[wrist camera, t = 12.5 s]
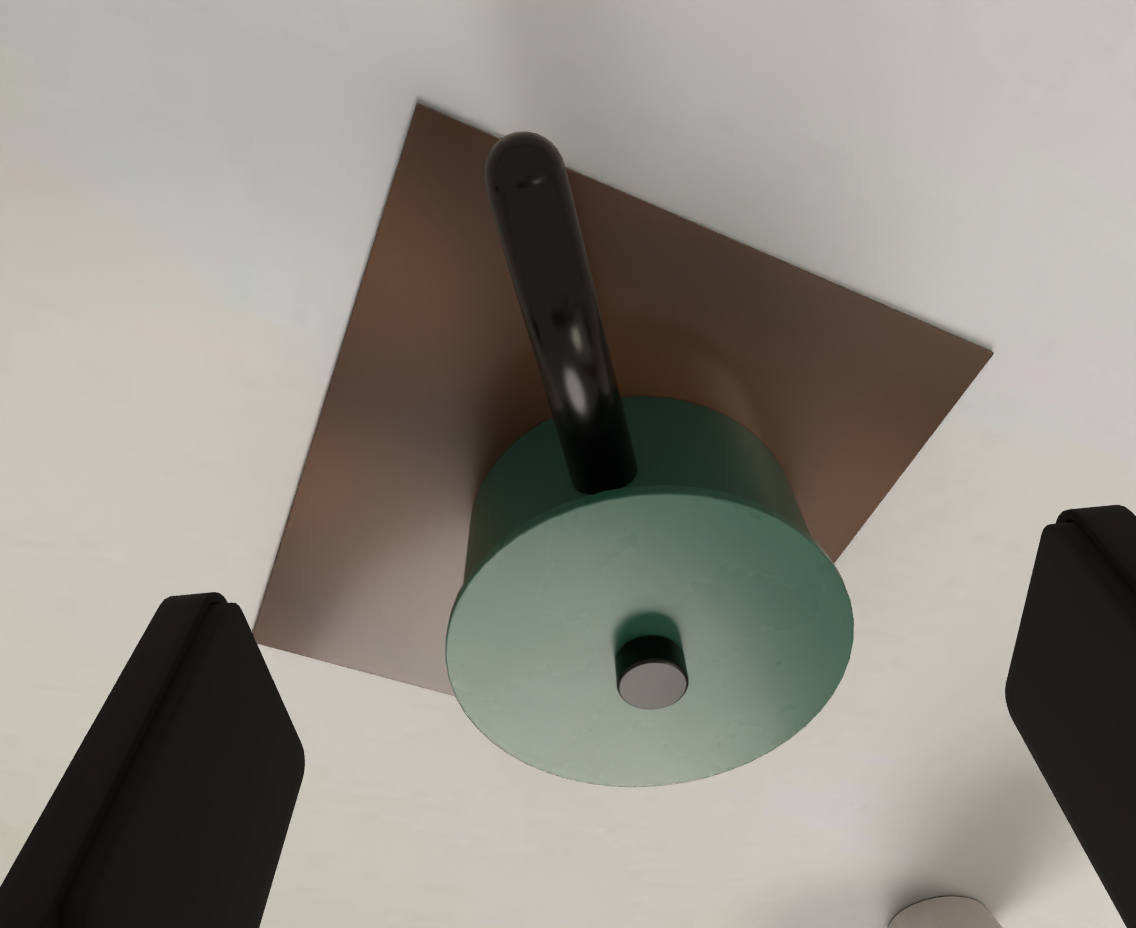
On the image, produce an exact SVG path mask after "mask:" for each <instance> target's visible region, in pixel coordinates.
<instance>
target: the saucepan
mask: <svg viewBox="0 0 1136 928" xmlns="http://www.w3.org/2000/svg"><path fill="white" fill-rule="evenodd" d="M483 181H484V186H485V191H486V194H487V197H488V201H489V204H490V207H491V211H492V214H493V218H494V221H495V224H496V228H497V231H498V235H499V238H500V241H501V245H502V248H503V251H504V255H505V258H506V262H507V265H508V268H509V272H510V275H511V279H512V282H513V285H514V289H515V292H516V295H517V299H518V302H519V306H520V309H521V312H522V316H523V319H524V322H525V326H526V329H527V333H528V336H529V339H530V343H531V346H532V350H533V353H534V356H535V360H536V363H537V366H538V370H539V373H540V377H541V380H542V383H543V387H544V390H545V394H546V397H547V400H548V404H549V407H550V410H551V414H552V417H551V418H550V419H548V420H546V421H544V422H543V423H541V424H539V425H537V426H536V427H534V428H533V429H531V430H530V431H529V432H527V433H526V434H524V435H523V436H522V437H520V438H519V439H518V440H516V441H515V442H514V443H513V444H512V445H511V446H510V447H509V448H508V449H507V450H506V451H505V452H504V453H503V454H502V455H501V456H500V458H499V459H498V460H497V462H496V463H495V464H494V465H493V467H492V468H491V469H490V471H489V472H488V474H487V476H486V478H485V479H484V481H483V483H482V485H481V487H480V489H479V491H478V494H477V497H476V499H475V502H474V505H473V510H472V515H471V520H470V528H469V536H468V545H467V554H466V562H465V571H464V579H463V585H462V587H461V589H460V590H459V592H458V594H457V597H456V599H455V602H454V604H453V607H452V610H451V612H450V617H449V622H448V627H447V633H446V644H445V660H446V666H447V672H448V677H449V680H450V683H451V686H452V689H453V691H454V694H455V697H456V698H457V700H458V702H459V704H460V705H461V707H462V709H463V711H464V712H465V714H466V715H467V716H468V717H469V719H470V720H471V721H472V722H473V724H474V725H475V726H476V727H477V729H479V730H480V731H481V732H482V733H483V734H484V735H485V736H486V737H487V738H488V739H489V740H490V741H491V742H493V743H494V744H495V745H497V746H498V747H500V748H501V749H502V750H504V751H505V752H506V753H508V754H510V755H511V756H513V757H515V758H517V759H519V760H520V761H522V762H524V763H526V764H528V765H530V766H533V767H535V768H537V769H540V770H542V771H545V772H547V773H550V774H554V775H557V776H560V777H563V778H566V779H571V780H575V781H580V782H585V783H590V784H598V785H606V786H620V787H647V786H662V785H670V784H677V783H684V782H689V781H693V780H698V779H702V778H707V777H710V776H713V775H717V774H720V773H723V772H726V771H729V770H732V769H734V768H737V767H739V766H742V765H744V764H746V763H749V762H751V761H753V760H755V759H757V758H759V757H761V756H763V755H765V754H767V753H768V752H770V751H772V750H773V749H775V748H776V747H778V746H780V745H781V744H783V743H784V742H786V741H787V740H789V739H790V738H791V737H793V736H794V735H795V734H796V733H797V732H799V731H800V730H801V729H802V728H804V727H805V726H806V725H807V724H808V723H809V722H810V721H811V720H812V719H813V718H814V717H815V716H816V715H817V714H818V713H819V712H820V711H821V709H822V708H823V707H824V705H825V704H826V703H827V702H828V700H829V699H830V698H831V696H832V695H833V693H834V692H835V690H836V688H837V686H838V684H839V683H840V681H841V679H842V677H843V675H844V672H845V670H846V667H847V664H848V662H849V659H850V654H851V649H852V644H853V631H854V618H853V613H852V607H851V602H850V598H849V595H848V593H847V590H846V588H845V585H844V582H843V580H842V578H841V575H840V573H839V572H838V570H837V568H836V567H835V565H834V563H833V562H832V560H831V558H830V557H829V555H828V554H827V553H826V552H825V551H824V549H823V548H822V547H821V546H820V545H819V544H818V543H817V541H816V540H815V539H814V538H813V537H812V536H811V534H810V532H809V529H808V527H807V525H806V522H805V520H804V518H803V515H802V513H801V511H800V508H799V506H798V504H797V501H796V499H795V497H794V494H793V492H792V490H791V487H790V485H789V482H788V480H787V478H786V475H785V473H784V471H783V469H782V468H781V466H780V465H779V463H778V461H777V460H776V458H775V456H774V455H773V454H772V453H771V452H770V450H769V449H768V448H767V447H766V446H765V444H764V443H763V442H762V441H761V440H760V439H758V438H757V437H756V436H755V435H754V434H753V433H751V432H750V431H749V430H748V429H747V428H745V427H744V426H742V425H740V424H739V423H737V422H736V421H734V420H733V419H731V418H729V417H727V416H725V415H723V414H721V413H719V412H716V411H714V410H712V409H710V408H707V407H704V406H700V405H697V404H694V403H691V402H687V401H681V400H676V399H671V398H663V397H648V396H638V397H621V396H620V392H619V388H618V383H617V379H616V375H615V371H614V367H613V363H612V359H611V354H610V350H609V346H608V342H607V338H606V334H605V330H604V325H603V321H602V317H601V313H600V309H599V305H598V300H597V296H596V292H595V288H594V284H593V280H592V276H591V271H590V267H589V263H588V259H587V255H586V251H585V246H584V242H583V238H582V234H581V230H580V226H579V222H578V217H577V213H576V209H575V205H574V201H573V197H572V193H571V188H570V184H569V180H568V176H567V172H566V168H565V164H564V161H563V158H562V156H561V154H560V153H559V151H558V149H557V148H556V147H555V146H554V145H553V143H552V142H550V141H549V140H548V139H546V138H545V137H543V136H541V135H539V134H537V133H532V132H515V133H511V134H509V135H507V136H505V137H503V138H501V139H500V140H499V141H498V142H497V143H496V144H495V145H494V146H493V147H492V148H491V150H490V151H489V153H488V155H487V157H486V160H485V163H484V168H483Z"/></svg>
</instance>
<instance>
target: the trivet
mask: <svg viewBox="0 0 1136 928" xmlns="http://www.w3.org/2000/svg"><path fill="white" fill-rule="evenodd" d="M499 140H500V139H499V138H497V137H495V136H493V135H490V134H488V133H486V132H483V131H481V130H479V129H476V128H474V127H472V126H469V125H467V124H465V123H462V122H460V121H458V120H455V119H453V118H451V117H449V116H446V115H444V114H442V113H439V112H437V111H435V110H432V109H430V108H428V107H425V106H423V105H421V104H417V105H416V108H415V112H414V115H413V118H412V121H411V124H410V128H409V131H408V134H407V137H406V141H405V144H404V147H403V150H402V154H401V157H400V160H399V163H398V166H397V170H396V173H395V176H394V179H393V183H392V186H391V189H390V192H389V195H388V199H387V202H386V205H385V208H384V212H383V215H382V218H381V221H380V225H379V228H378V231H377V234H376V237H375V241H374V244H373V247H372V250H371V254H370V257H369V260H368V263H367V266H366V270H365V273H364V276H363V279H362V283H361V286H360V289H359V292H358V296H357V299H356V302H355V305H354V308H353V312H352V315H351V318H350V321H349V325H348V328H347V331H346V334H345V337H344V341H343V344H342V347H341V350H340V354H339V357H338V360H337V363H336V367H335V370H334V373H333V376H332V379H331V383H330V386H329V389H328V392H327V396H326V399H325V402H324V405H323V408H322V412H321V415H320V418H319V421H318V425H317V428H316V431H315V434H314V438H313V441H312V444H311V447H310V450H309V454H308V457H307V460H306V463H305V467H304V470H303V473H302V476H301V479H300V483H299V486H298V489H297V492H296V496H295V499H294V502H293V505H292V509H291V512H290V515H289V518H288V521H287V525H286V528H285V531H284V534H283V538H282V541H281V544H280V547H279V550H278V554H277V557H276V560H275V563H274V567H273V570H272V573H271V576H270V580H269V583H268V586H267V589H266V592H265V596H264V599H263V602H262V605H261V609H260V612H259V615H258V618H257V621H256V625H255V628H254V631H253V636H254V638H255V641H256V643H257V644H261V645H265V646H268V647H272V648H276V649H280V650H284V651H287V652H291V653H295V654H299V655H302V656H306V657H310V658H314V659H317V660H321V661H325V662H329V663H333V664H336V665H340V666H344V667H348V668H351V669H355V670H359V671H363V672H366V673H370V674H374V675H378V676H382V677H385V678H389V679H393V680H397V681H400V682H404V683H408V684H412V685H415V686H419V687H423V688H427V689H431V690H434V691H438V692H442V693H446V694H449V695H453V696H455V694H454V691H453V689H452V686H451V683H450V680H449V677H448V672H447V666H446V660H445V644H446V633H447V627H448V622H449V617H450V612H451V610H452V607H453V604H454V602H455V599H456V597H457V594H458V592H459V590H460V589H461V587H462V585H463V579H464V571H465V562H466V554H467V545H468V536H469V528H470V520H471V515H472V510H473V505H474V502H475V499H476V497H477V494H478V491H479V489H480V487H481V485H482V483H483V481H484V479H485V478H486V476H487V474H488V472H489V471H490V469H491V468H492V467H493V465H494V464H495V463H496V462H497V460H498V459H499V458H500V456H501V455H502V454H503V453H504V452H505V451H506V450H507V449H508V448H509V447H510V446H511V445H512V444H513V443H514V442H515V441H516V440H518V439H519V438H520V437H522V436H523V435H524V434H526V433H527V432H529V431H530V430H531V429H533V428H534V427H536V426H537V425H539V424H541V423H543V422H544V421H546V420H548V419H550V418H551V417H552V414H551V410H550V407H549V404H548V400H547V397H546V394H545V390H544V387H543V383H542V380H541V377H540V373H539V370H538V366H537V363H536V360H535V356H534V353H533V350H532V346H531V343H530V339H529V336H528V333H527V329H526V326H525V322H524V319H523V316H522V312H521V309H520V306H519V302H518V299H517V295H516V292H515V289H514V285H513V282H512V279H511V275H510V272H509V268H508V265H507V262H506V258H505V255H504V251H503V248H502V245H501V241H500V238H499V235H498V231H497V228H496V224H495V221H494V218H493V214H492V211H491V207H490V204H489V201H488V197H487V194H486V191H485V186H484V181H483V168H484V163H485V160H486V157H487V155H488V153H489V151H490V150H491V148H492V147H493V146H494V145H495V144H496V143H497V142H498V141H499ZM565 168H566V172H567V176H568V180H569V184H570V188H571V193H572V197H573V201H574V205H575V209H576V213H577V217H578V222H579V226H580V230H581V234H582V238H583V242H584V246H585V251H586V255H587V259H588V263H589V267H590V271H591V276H592V280H593V284H594V288H595V292H596V296H597V300H598V305H599V309H600V313H601V317H602V321H603V325H604V330H605V334H606V338H607V342H608V346H609V350H610V354H611V359H612V363H613V367H614V371H615V375H616V379H617V383H618V388H619V392H620V396H621V397H638V396H648V397H663V398H671V399H676V400H681V401H687V402H691V403H694V404H697V405H700V406H704V407H707V408H710V409H712V410H714V411H716V412H719V413H721V414H723V415H725V416H727V417H729V418H731V419H733V420H734V421H736V422H737V423H739V424H740V425H742V426H744V427H745V428H747V429H748V430H749V431H750V432H751V433H753V434H754V435H755V436H756V437H757V438H758V439H760V440H761V441H762V442H763V443H764V444H765V446H766V447H767V448H768V449H769V450H770V452H771V453H772V454H773V455H774V456H775V458H776V460H777V461H778V463H779V465H780V466H781V468H782V469H783V471H784V473H785V475H786V478H787V480H788V482H789V485H790V487H791V490H792V492H793V494H794V497H795V499H796V501H797V504H798V506H799V508H800V511H801V513H802V515H803V518H804V520H805V522H806V525H807V527H808V529H809V532H810V534H811V536H812V537H813V538H814V539H815V540H816V541H817V543H818V544H819V545H820V546H821V547H822V548H823V549H824V551H825V552H826V553H827V554H828V555H829V557H830V558H831V560H832V562H833V563H835V561H836V560H837V559H838V558H839V556H840V555H841V554H842V552H843V551H844V550H845V548H846V547H847V546H848V544H849V543H850V542H851V540H852V539H853V538H854V537H855V535H856V534H857V533H858V531H859V530H860V529H861V527H862V526H863V525H864V523H865V522H866V521H867V519H868V518H869V517H870V515H871V514H872V513H873V512H874V510H875V509H876V508H877V506H878V505H879V504H880V502H881V501H882V500H883V498H884V497H885V496H886V494H887V493H888V492H889V491H890V489H891V488H892V487H893V485H894V484H895V483H896V481H897V480H898V479H899V477H900V476H901V475H902V473H903V472H904V471H905V470H906V468H907V467H908V466H909V464H910V463H911V462H912V460H913V459H914V458H915V456H916V455H917V454H918V452H919V451H920V450H921V448H922V447H923V446H924V445H925V443H926V442H927V441H928V439H929V438H930V437H931V435H932V434H933V433H934V431H935V430H936V429H937V427H938V426H939V425H940V424H941V422H942V421H943V420H944V418H945V417H946V416H947V414H948V413H949V412H950V410H951V409H952V408H953V406H954V405H955V404H956V403H957V401H958V400H959V399H960V397H961V396H962V395H963V393H964V392H965V391H966V389H967V388H968V387H969V385H970V384H971V383H972V381H973V380H974V379H975V378H976V376H977V375H978V374H979V372H980V371H981V370H982V368H983V367H984V366H985V364H986V363H987V362H988V360H989V359H990V358H991V357H992V355H993V354H994V353H993V352H992V351H991V350H988V349H986V348H984V347H981V346H979V345H977V344H974V343H972V342H970V341H967V340H965V339H963V338H960V337H958V336H956V335H954V334H951V333H949V332H947V331H944V330H942V329H940V328H937V327H935V326H933V325H930V324H928V323H926V322H923V321H921V320H919V319H916V318H914V317H912V316H909V315H907V314H905V313H903V312H900V311H898V310H896V309H893V308H891V307H889V306H886V305H884V304H882V303H879V302H877V301H875V300H872V299H870V298H868V297H865V296H863V295H861V294H859V293H856V292H854V291H852V290H849V289H847V288H845V287H842V286H840V285H838V284H835V283H833V282H831V281H828V280H826V279H824V278H821V277H819V276H817V275H815V274H812V273H810V272H808V271H805V270H803V269H801V268H798V267H796V266H794V265H791V264H789V263H787V262H784V261H782V260H780V259H777V258H775V257H773V256H771V255H768V254H766V253H764V252H761V251H759V250H757V249H754V248H752V247H750V246H747V245H745V244H743V243H740V242H738V241H736V240H733V239H731V238H729V237H727V236H724V235H722V234H720V233H717V232H715V231H713V230H710V229H708V228H706V227H703V226H701V225H699V224H696V223H694V222H692V221H689V220H687V219H685V218H682V217H680V216H678V215H676V214H673V213H671V212H669V211H666V210H664V209H662V208H659V207H657V206H655V205H652V204H650V203H648V202H645V201H643V200H641V199H638V198H636V197H634V196H632V195H629V194H627V193H625V192H622V191H620V190H618V189H615V188H613V187H611V186H608V185H606V184H604V183H601V182H599V181H597V180H594V179H592V178H590V177H588V176H585V175H583V174H581V173H578V172H576V171H574V170H571V169H569V168H567V167H565Z"/></svg>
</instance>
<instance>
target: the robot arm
mask: <svg viewBox="0 0 1136 928" xmlns="http://www.w3.org/2000/svg"><path fill="white" fill-rule="evenodd" d="M1005 698H1006V703H1007V707H1008V710H1009V713H1010V716H1011V718H1012V720H1013V722H1014V724H1015V725H1016V727H1017V729H1018V731H1019V733H1020V734H1021V736H1022V738H1023V740H1024V742H1025V743H1026V745H1027V747H1028V749H1029V751H1030V753H1031V754H1032V756H1033V758H1034V760H1035V762H1036V763H1037V765H1038V767H1039V769H1040V771H1041V773H1042V774H1043V776H1044V778H1045V780H1046V782H1047V783H1048V785H1049V787H1050V789H1051V791H1052V793H1053V794H1054V796H1055V798H1056V800H1057V802H1058V803H1059V805H1060V807H1061V809H1062V811H1063V813H1064V814H1065V816H1066V818H1067V820H1068V822H1069V823H1070V825H1071V827H1072V829H1073V831H1074V833H1075V834H1076V836H1077V838H1078V840H1079V842H1080V843H1081V845H1082V847H1083V849H1084V851H1085V853H1086V854H1087V856H1088V858H1089V860H1090V862H1091V863H1092V865H1093V867H1094V869H1095V871H1096V873H1097V874H1098V876H1099V878H1100V880H1101V882H1102V883H1103V885H1104V887H1105V889H1106V891H1107V893H1108V894H1109V896H1110V898H1111V900H1112V902H1113V903H1114V905H1115V907H1116V909H1117V911H1118V912H1119V914H1120V916H1121V918H1122V920H1123V922H1124V923H1125V925H1126V927H1127V928H1136V516H1135V515H1134V514H1133V513H1132V512H1131V511H1130V510H1128V509H1127V508H1126V507H1124V506H1120V505H1110V506H1100V507H1090V508H1079V509H1069V510H1065V511H1063V512H1062V513H1061V514H1060V515H1059V516H1058V519H1057V521H1056V524H1050V525H1047V526H1046V527H1045V528H1044V529H1043V532H1042V535H1041V539H1040V543H1039V547H1038V551H1037V555H1036V560H1035V564H1034V568H1033V572H1032V576H1031V581H1030V585H1029V589H1028V593H1027V597H1026V602H1025V606H1024V610H1023V614H1022V618H1021V623H1020V627H1019V631H1018V635H1017V639H1016V644H1015V648H1014V652H1013V656H1012V660H1011V664H1010V669H1009V673H1008V677H1007V681H1006V687H1005ZM304 767H305V756H304V750H303V747H302V744H301V741H300V739H299V737H298V735H297V732H296V730H295V728H294V726H293V724H292V721H291V719H290V717H289V715H288V712H287V710H286V708H285V706H284V703H283V701H282V699H281V697H280V694H279V692H278V690H277V688H276V685H275V683H274V681H273V679H272V677H271V674H270V672H269V670H268V668H267V665H266V663H265V661H264V659H263V656H262V654H261V652H260V650H259V647H258V645H257V643H256V641H255V638H254V636H253V634H252V632H251V630H250V627H249V625H248V623H247V621H246V618H245V616H244V614H243V612H242V610H241V608H240V606H239V605H237V604H236V603H227V601H226V599H225V598H224V596H222V595H221V594H220V593H216V592H211V593H200V594H190V595H180V596H170V597H168V598H166V599H164V601H163V602H162V603H161V605H160V606H159V608H158V609H157V611H156V613H155V615H154V616H153V618H152V620H151V622H150V623H149V625H148V627H147V629H146V631H145V632H144V634H143V636H142V638H141V639H140V641H139V643H138V645H137V646H136V648H135V650H134V652H133V653H132V655H131V657H130V659H129V661H128V662H127V664H126V666H125V668H124V669H123V671H122V673H121V675H120V676H119V678H118V680H117V682H116V684H115V685H114V687H113V689H112V691H111V692H110V694H109V696H108V698H107V699H106V701H105V703H104V705H103V707H102V708H101V710H100V712H99V714H98V715H97V717H96V719H95V721H94V722H93V724H92V726H91V728H90V729H89V731H88V733H87V735H86V736H85V738H84V740H83V742H82V743H81V745H80V747H79V749H78V751H77V752H76V754H75V756H74V758H73V759H72V761H71V763H70V765H69V766H68V768H67V770H66V772H65V773H64V775H63V777H62V779H61V781H60V782H59V784H58V786H57V788H56V789H55V791H54V793H53V795H52V796H51V798H50V800H49V802H48V804H47V805H46V807H45V809H44V811H43V812H42V814H41V816H40V818H39V819H38V821H37V823H36V825H35V826H34V828H33V830H32V832H31V834H30V835H29V837H28V839H27V841H26V842H25V844H24V846H23V848H22V849H21V851H20V853H19V855H18V857H17V858H16V860H15V862H14V864H13V865H12V867H11V869H10V871H9V872H8V874H7V876H6V878H5V880H4V881H3V883H2V885H1V887H0V928H259V926H260V923H261V919H262V916H263V913H264V909H265V906H266V902H267V899H268V895H269V892H270V889H271V885H272V882H273V878H274V875H275V871H276V868H277V865H278V861H279V858H280V854H281V851H282V848H283V844H284V841H285V837H286V834H287V830H288V827H289V824H290V820H291V817H292V813H293V810H294V806H295V803H296V800H297V796H298V793H299V789H300V786H301V783H302V779H303V775H304Z"/></svg>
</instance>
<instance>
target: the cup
mask: <svg viewBox="0 0 1136 928" xmlns="http://www.w3.org/2000/svg"><path fill="white" fill-rule="evenodd" d="M888 928H1002V926H1001V925H1000V924H999V923H998V922H997V920H996V919H995V918H994V917H993V916H992V914H991V913H990V912H989V911H988V910H987V908H986V907H985V906H984V905H983V904H981V903H980V902H978V901H976V900H973V899H970V898H965V897H957V896H947V897H938V898H932V899H928V900H924V901H921V902H918V903H916V904H913V905H911V906H909V907H907V908H906V909H904V910H902V911H901V912H900V913H898V914H897V915H896V916H895V917H894V918H893V919H892V921H891V922H890V924H889V926H888Z"/></svg>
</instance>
